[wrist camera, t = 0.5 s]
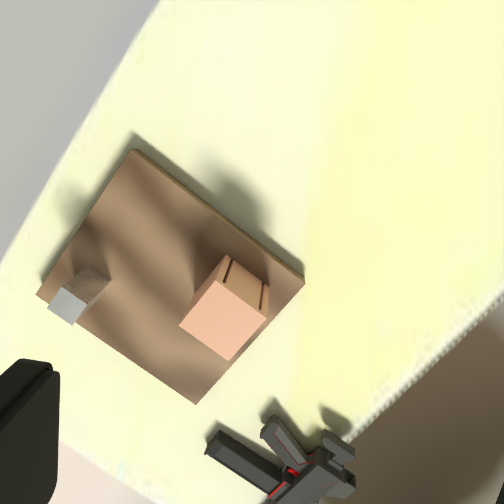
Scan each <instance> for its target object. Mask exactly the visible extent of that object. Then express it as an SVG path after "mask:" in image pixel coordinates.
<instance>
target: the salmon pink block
mask: <svg viewBox="0 0 504 504" xmlns="http://www.w3.org/2000/svg"><path fill="white" fill-rule="evenodd" d="M230 260H231V258H230V257H229V256H228V255H225V257H224V258H223V259H222V260H221V261H220V263H219V264H218V265H217V266H216V268H215V269H214V270H213V271H212V273H211V274H210V275H209V276H208V278H207V279H206V280H205V281H204V283H203V284H202V285H201V286H200V287H199V289H198V290H197V291H196V292H195V294H194V296H193V298H192V300H191V302H190V304H189V306H188V308H187V310H186V312H185V314H184V316H183V318H182V320H181V322H180V324H179V326H180V327H181V328H183V329H184V330H185V331H187V332H188V333H190V334H191V335H192V336H194V337H195V338H197V339H198V340H199V341H201V342H202V343H204V344H205V345H206V346H208V347H209V348H211V349H212V350H213V351H215V352H216V353H218V354H219V355H220V356H222V357H223V358H225V359H226V360H227V361H229V360H230V359H231V358H232V357H233V356H234V355H235V353H236V352H237V351H238V350H239V349H240V348H241V347H242V346H243V345H244V343H245V342H246V341H247V340H248V339H249V338H250V337H251V336H252V335H253V333H254V332H255V331H256V330H257V329H258V328H259V327H260V326H261V324H262V323H263V322H264V321H265V320H266V319H267V311H268V300H269V288H270V287H269V286H267V285H266V284H264V285H263V286H262V281H261V280H260V279H258V278H257V277H256V276H254V275H253V274H252V273H250V272H249V271H248V270H246V269H245V268H244V267H242V266H241V265H240V264H238V263H237V262H236V261H233V262H232V263H231V264H230V266H229V263H230ZM228 266H229V269H228ZM227 269H228V272H227V275H226V277H225V274H226V271H227ZM224 277H225V280H224V283H223V279H224Z"/></svg>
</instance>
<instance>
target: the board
mask: <svg viewBox="0 0 504 504" xmlns="http://www.w3.org/2000/svg"><path fill="white" fill-rule="evenodd" d="M225 255H228V256H229V257H230V258H231V260H230V263H229V266H230V264H231V263H232V262H233V261H236V262H237V263H238V264H240V265H241V266H242V267H244V268H245V269H246V270H248V271H249V272H250V273H252V274H253V275H254V276H256V277H257V278H258V279H260V280H261V281H262V286H263V285H264V284H266V285H267V286H269V287H270V288H269V300H268V311H267V319H266V320H265V321H264V322H263V323H262V324H261V326H260V327H259V328H258V329H257V330H256V331H255V332H254V333H253V335H252V336H251V337H250V338H249V339H248V340H247V341H246V342H245V343H244V345H243V346H242V347H241V348H240V349H239V350H238V351H237V352H236V353H235V355H234V356H233V357H232V358H231V359H230V360H229V361H227V360H226V359H225V358H223V357H222V356H220V355H219V354H218V353H216V352H215V351H213V350H212V349H211V348H209V347H208V346H206V345H205V344H204V343H202V342H201V341H199V340H198V339H197V338H195V337H194V336H192V335H191V334H190V333H188V332H187V331H185V330H184V329H183V328H181V327H180V326H179V324H180V322H181V320H182V318H183V316H184V314H185V312H186V310H187V308H188V306H189V304H190V302H191V300H192V298H193V296H194V294H195V292H196V291H197V290H198V289H199V287H200V286H201V285H202V284H203V283H204V281H205V280H206V279H207V278H208V276H209V275H210V274H211V273H212V271H213V270H214V269H215V268H216V266H217V265H218V264H219V263H220V261H221V260H222V259H223V258H224V257H225ZM89 265H90V266H92V267H93V268H95V269H96V270H97V271H99V272H100V273H102V274H103V275H104V276H106V277H107V278H109V279H110V280H111V283H110V284H109V286H108V287H107V288H106V290H105V291H104V292H103V294H102V295H101V297H100V298H99V299H98V300H97V301H96V302H95V303H94V304H93V305H92V306H91V307H90V308H89V309H88V310H87V311H86V312H85V313H84V314H83V315H82V316H81V317H80V318H79V319H78V320H77V321H76V323H77V324H79V325H80V326H82V327H83V328H85V329H86V330H88V331H89V332H90V333H92V334H93V335H95V336H96V337H98V338H99V339H101V340H102V341H104V342H105V343H106V344H108V345H109V346H111V347H112V348H114V349H115V350H117V351H118V352H120V353H121V354H122V355H124V356H125V357H127V358H128V359H130V360H131V361H133V362H134V363H136V364H137V365H138V366H140V367H141V368H143V369H144V370H146V371H147V372H149V373H150V374H152V375H153V376H154V377H156V378H157V379H159V380H160V381H162V382H163V383H165V384H166V385H168V386H169V387H170V388H172V389H173V390H175V391H176V392H178V393H179V394H181V395H182V396H184V397H185V398H186V399H188V400H189V401H191V402H192V403H194V404H195V405H196V404H197V403H198V402H199V401H200V400H201V399H202V398H203V397H204V395H205V394H206V393H207V392H208V391H209V390H210V389H211V388H212V387H213V385H214V384H215V383H216V382H217V381H218V380H219V379H220V378H221V377H222V376H223V374H224V373H225V372H226V371H227V370H228V369H229V368H230V367H231V366H232V364H233V363H234V362H235V361H236V360H237V359H238V358H239V357H240V356H241V354H242V353H243V352H244V351H245V350H246V349H247V348H248V347H249V346H250V345H251V343H252V342H253V341H254V340H255V339H256V338H257V337H258V336H259V335H260V333H261V332H262V331H263V330H264V329H265V328H266V327H267V326H268V325H269V324H270V322H271V321H272V320H273V319H274V318H275V317H276V316H277V315H278V314H279V312H280V311H281V310H282V309H283V308H284V307H285V306H286V305H287V304H288V302H289V301H290V300H291V299H292V298H293V297H294V296H295V295H296V294H297V293H298V291H299V290H300V289H301V288H302V287H303V286H304V285H305V278H304V277H302V276H301V275H300V274H298V273H297V272H296V271H295V270H293V269H292V268H291V267H289V266H288V265H287V264H285V263H284V262H283V261H282V260H280V259H279V258H278V257H276V256H275V255H274V254H272V253H271V252H270V251H269V250H267V249H266V248H265V247H263V246H262V245H261V244H259V243H258V242H257V241H256V240H254V239H253V238H252V237H250V236H249V235H248V234H246V233H245V232H244V231H243V230H241V229H240V228H239V227H237V226H236V225H235V224H233V223H232V222H231V221H230V220H228V219H227V218H226V217H224V216H223V215H222V214H220V213H219V212H218V211H217V210H215V209H214V208H213V207H211V206H210V205H209V204H207V203H206V202H205V201H204V200H202V199H201V198H200V197H198V196H197V195H196V194H194V193H193V192H192V191H191V190H189V189H188V188H187V187H185V186H184V185H183V184H181V183H180V182H179V181H178V180H176V179H175V178H174V177H172V176H171V175H170V174H168V173H167V172H166V171H165V170H163V169H162V168H161V167H159V166H158V165H157V164H155V163H154V162H153V161H152V160H150V159H149V158H148V157H146V156H145V155H144V154H142V153H141V152H140V151H139V150H137V149H133V150H130V152H129V153H128V155H127V156H126V158H125V160H124V161H123V163H122V164H121V166H120V167H119V169H118V170H117V172H116V173H115V175H114V176H113V178H112V179H111V181H110V182H109V184H108V185H107V187H106V188H105V190H104V191H103V193H102V194H101V196H100V197H99V199H98V200H97V202H96V203H95V205H94V207H93V208H92V210H91V211H90V213H89V214H88V216H87V217H86V219H85V220H84V222H83V223H82V225H81V226H80V228H79V229H78V231H77V232H76V234H75V235H74V237H73V238H72V240H71V241H70V243H69V244H68V246H67V247H66V249H65V250H64V252H63V254H62V255H61V257H60V258H59V260H58V261H57V263H56V264H55V266H54V267H53V269H52V270H51V272H50V273H49V275H48V276H47V278H46V279H45V281H44V282H43V284H42V285H41V287H40V288H39V290H38V291H37V293H36V294H35V295H37V296H38V297H40V298H41V299H42V300H44V301H45V302H47V303H48V304H50V303H51V301H52V300H53V298H54V297H55V295H56V294H57V292H58V291H59V290H60V288H61V287H62V286H63V285H64V284H66V283H67V282H68V281H69V280H71V279H72V278H73V277H75V276H76V275H77V274H78V273H80V272H81V271H82V270H84V269H85V268H86V267H88V266H89ZM229 266H228V269H229ZM228 269H227V271H226V274H225V277H226V275H227V272H228ZM225 277H224V279H223V283H224V280H225Z"/></svg>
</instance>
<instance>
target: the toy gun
mask: <svg viewBox="0 0 504 504" xmlns="http://www.w3.org/2000/svg"><path fill="white" fill-rule="evenodd" d="M260 438H261V439H264V440H265V442H266V443H267V444H268V445H269V446H270V447H271V449H272V450H273V451H274V452H275V453H276V454H277V456H278V457H279V458H280V459H281V460H282V461H283V463H284V464H285V465H284V467H283V469H282V471H281V470H280V469H278V468H277V467H275V466H274V465H272V464H271V463H269V462H268V461H266V460H265V459H263V458H262V457H260V456H259V455H257V454H256V453H254V452H253V451H251V450H250V449H248V448H247V447H245V446H244V445H242V444H241V443H239V442H238V441H236V440H235V439H233V438H231V437H230V436H228V435H226V434H225V433H223V432H221V430H220V431H219V432H218V433H217V434H216V435H215V437H214V438H213V439H212V440H211V441H210V443H209V444H208V445H207V447H206V450H205V453H204V455H206V454H208V455H209V456H210V457H212V458H213V459H215V460H216V461H218V462H219V463H221V464H222V465H224V466H225V467H227V468H228V469H230V470H231V471H233V472H234V473H236V474H237V475H239V476H240V477H242V478H244V479H245V480H247V481H248V482H250V483H251V484H253V485H254V486H256V487H257V488H259V489H260V490H262V491H263V492H265V493H267V494H268V497H269V498H270V504H318V500H319V499H320V498H321V497H323V496H324V495H326V496H328V497H329V498H330V497H331V496H333V497H338V498H342V499H345V498H346V497H347V496H349V495H350V494H351V493H352V492H353V491H354V490H355V489H356V479H355V475H354V474H353V473H351V472H350V471H348V470H347V469H345V468H344V467H343V464H344V463H346V462H348V463H349V462H351V461H352V460H353V459H354V458H355V449H354V448H353V447H351V446H350V445H349V444H347V443H346V442H344V441H343V440H341V439H340V438H338V437H337V436H336V435H334V434H333V433H331V432H330V431H328V430H326V429H324V430H323V431H322V442H323V444H324V447H325V448H327V449H328V450H330V451H329V452H328V453H327V452H326V451H324V450H323V449H321V448H320V447H317V448H316V449H315V450H314V451H313V452H312V453H311V454H310V455H306V454H305V452H304V451H303V450H302V448H301V447H300V446H299V444H298V443H297V442H296V441H295V439H294V438H293V437H292V435H291V434H290V433H289V431H288V430H287V429H286V427H285V426H284V425H283V423H282V422H281V421H280V418H279V417H278V416H276V415H273V417H272V418H271V419H270V420H269V421H268V422H267V423H266V424H265V426H264V427H263V428H262V429H261V433H260ZM286 466H289V467H291V468H287V467H286Z"/></svg>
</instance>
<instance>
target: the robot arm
mask: <svg viewBox="0 0 504 504" xmlns="http://www.w3.org/2000/svg"><path fill="white" fill-rule="evenodd" d="M59 402H60V374H59V372H57V371H53V367H52V364H50V363H48V362H42V361H36V360H30V359H19V360H17V361H16V362H15V363H14V364H13V365H12V366H10V367H9V368H8V369H7V370H6V371H5V372H4V373H3V374H2V375H0V504H48V502H49V501H50V499H51V497H52V495H53V493H54V490H55V487H56V483H57V473H58V472H57V471H58V438H59ZM496 504H504V483H503V486H502V488H501V491H500V493H499V496H498V498H497V501H496Z"/></svg>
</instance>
